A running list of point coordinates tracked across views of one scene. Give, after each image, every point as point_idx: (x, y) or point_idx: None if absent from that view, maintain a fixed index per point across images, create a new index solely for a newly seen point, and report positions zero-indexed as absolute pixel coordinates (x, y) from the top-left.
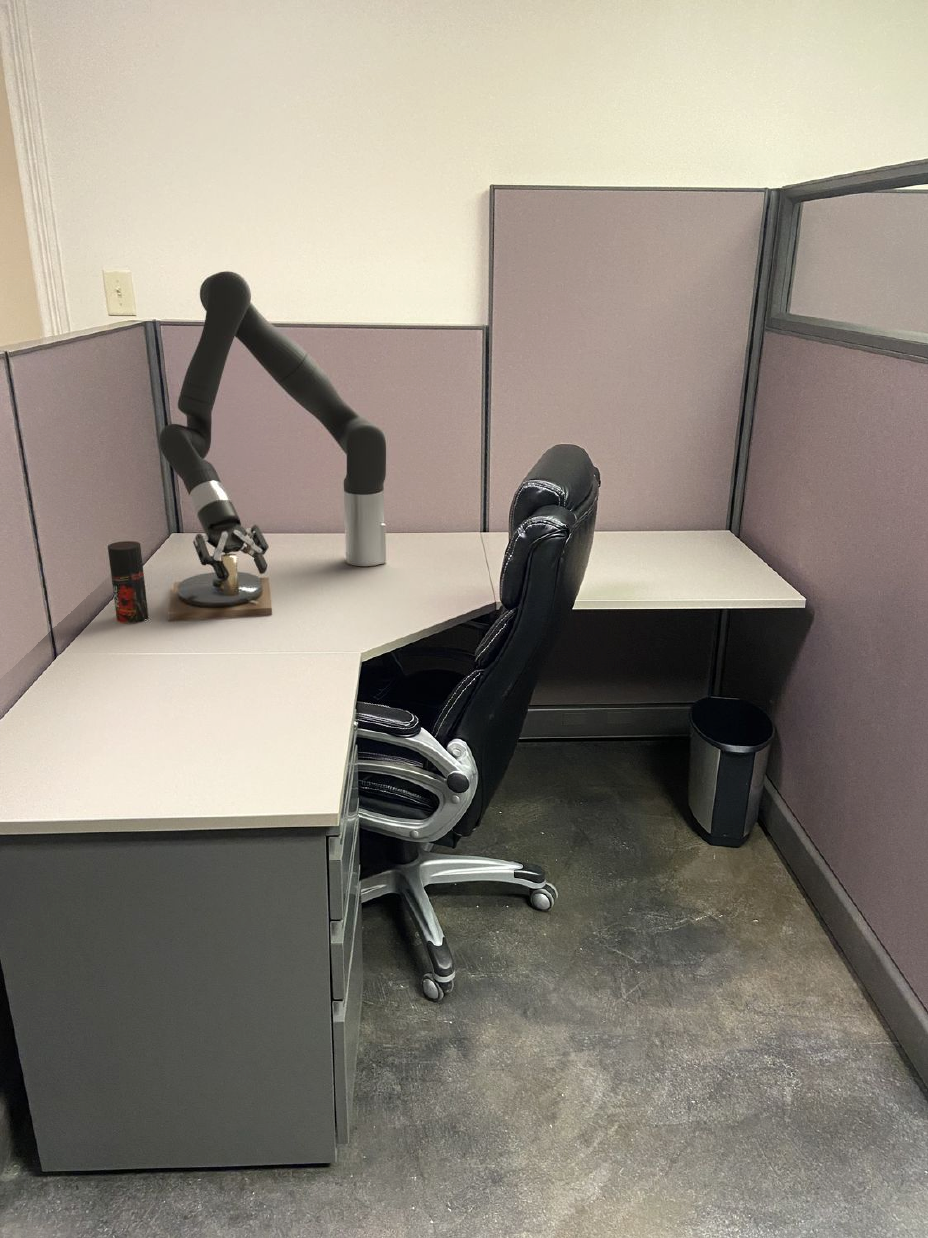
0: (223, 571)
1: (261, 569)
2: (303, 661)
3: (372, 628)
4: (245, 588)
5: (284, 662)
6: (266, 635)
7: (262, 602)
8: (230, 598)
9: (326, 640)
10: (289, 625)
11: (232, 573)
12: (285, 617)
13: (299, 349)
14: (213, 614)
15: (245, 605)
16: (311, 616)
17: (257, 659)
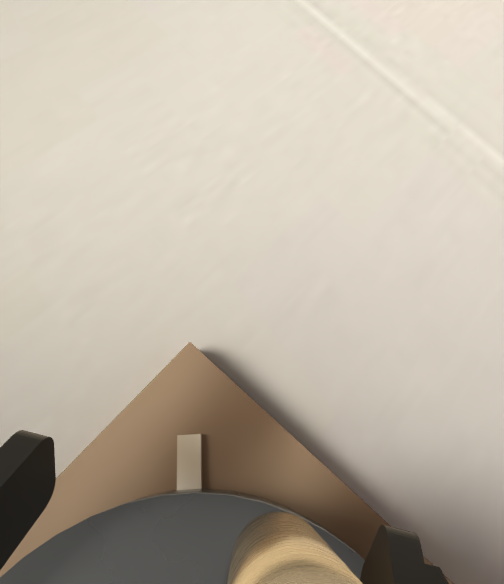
0: (426, 578)
1: (40, 476)
2: (410, 27)
3: (107, 32)
4: (150, 577)
5: (452, 53)
6: (360, 214)
7: (158, 434)
8: (316, 525)
9: (262, 65)
10: (239, 219)
11: (321, 545)
12: (184, 286)
13: None
14: None
15: (242, 472)
16: (120, 220)
17: (499, 110)
